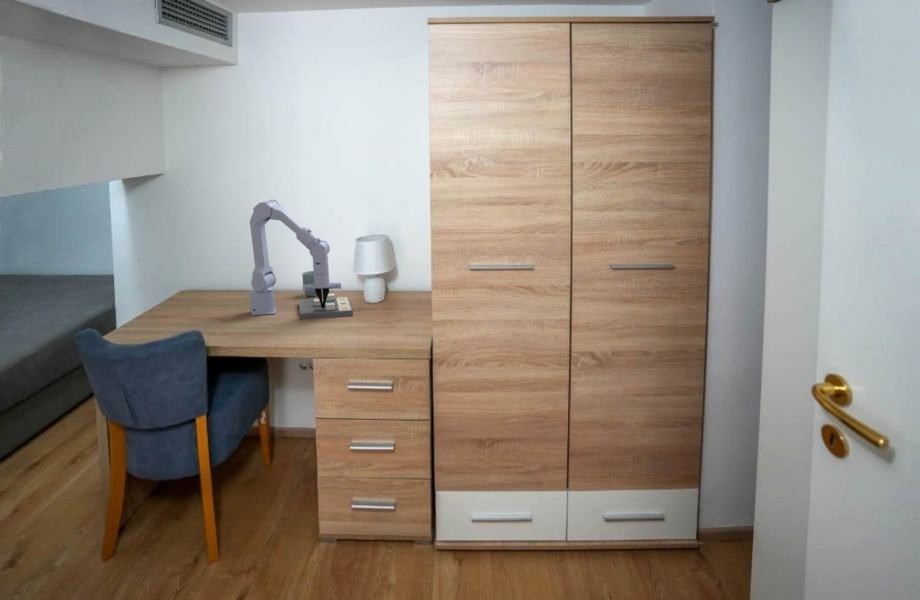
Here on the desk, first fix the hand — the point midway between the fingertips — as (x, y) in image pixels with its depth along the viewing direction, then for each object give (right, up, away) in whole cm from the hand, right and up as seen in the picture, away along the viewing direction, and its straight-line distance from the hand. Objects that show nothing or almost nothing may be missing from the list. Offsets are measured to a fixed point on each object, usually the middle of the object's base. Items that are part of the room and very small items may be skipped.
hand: (323, 307), depth 312 cm
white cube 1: (+3, -1, +1) cm, 3 cm away
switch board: (-1, -1, +9) cm, 9 cm away
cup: (-10, +5, +33) cm, 34 cm away
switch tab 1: (-3, +1, +8) cm, 8 cm away
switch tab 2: (0, +3, +16) cm, 16 cm away
